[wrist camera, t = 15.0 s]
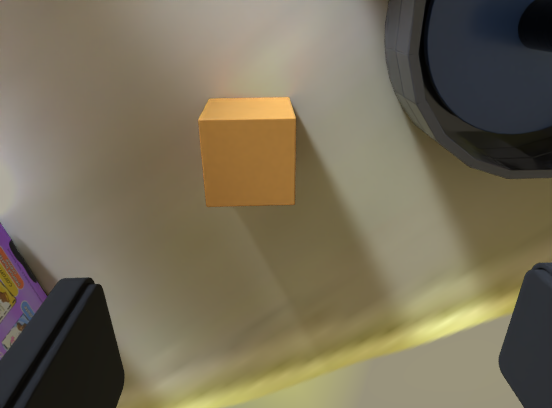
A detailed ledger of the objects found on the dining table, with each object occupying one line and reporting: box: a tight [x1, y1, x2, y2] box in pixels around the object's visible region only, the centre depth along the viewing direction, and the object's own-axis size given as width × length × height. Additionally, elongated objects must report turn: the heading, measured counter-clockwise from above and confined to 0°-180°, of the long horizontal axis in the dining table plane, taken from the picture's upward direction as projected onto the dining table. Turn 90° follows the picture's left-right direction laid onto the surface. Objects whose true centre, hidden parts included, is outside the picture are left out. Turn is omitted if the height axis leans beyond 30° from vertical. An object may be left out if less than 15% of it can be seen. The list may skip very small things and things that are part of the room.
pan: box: [385, 0, 552, 179], centre depth 19 cm, size 15×15×4 cm
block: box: [198, 97, 296, 207], centre depth 21 cm, size 4×4×4 cm
